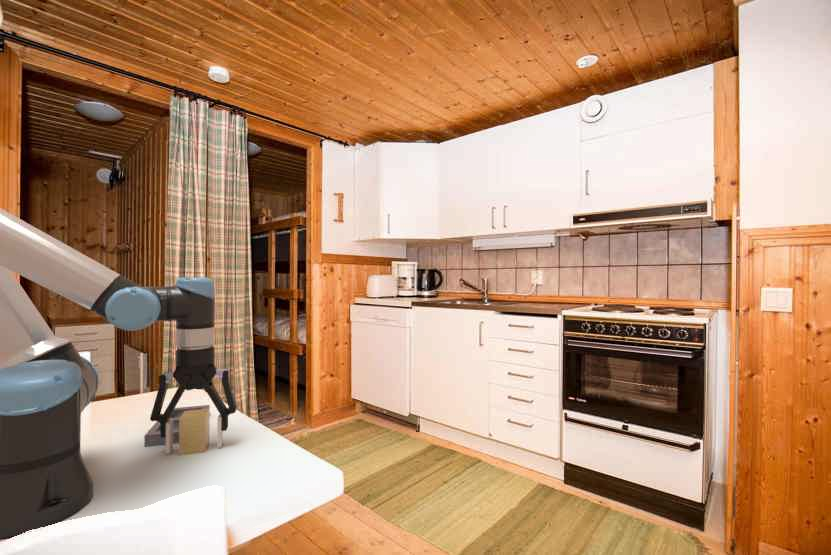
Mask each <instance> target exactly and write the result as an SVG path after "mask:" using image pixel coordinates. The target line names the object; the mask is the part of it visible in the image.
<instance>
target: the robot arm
mask: <svg viewBox="0 0 831 555" xmlns="http://www.w3.org/2000/svg"><path fill="white" fill-rule="evenodd" d="M13 273H15V274H18V275H20V276H22V277H23V278H26V279H27V280H28V281H29V280H30V281H31V282H33V283H35V284H37V285H39V286H41V287H43V288H46V289H47V290H50V291H51V292H54V293H55V294H57V295H60V296H61V297H63V298H65V299H68V300H70V301H71V302H73V303H76V304H77V305H79V306H82V307H84V308H85V309H87V310H89V311H91V312H93V313H95V314H96V315H99V316H101V317H103V318H104V319H105V320H106V321H107V322H108V323H110V324H112V325H113V326H114V327H116V328H117V329H119V330H123V331H129V332H130V331H131V332H132V331H133V332H134V331H140V330H144V329H147V328H148V327H150V326H151V325H152V324H154V323H159V322H175V324H176V325H175V347H177V349H176V350H175V370H174V371H172V372H169V373H168V372H163V373H162V374H160V375H159V376H158V385H159V387H158V390H157V393H156V396H155V400H154V404H153V406H152V407H153V408H152V410H151V414H150V417H149V418H150V419H149V420H150V421H151V422H157V421H158V422H160V436H161V438H163V437H166V444H165V454H166V455H169V454H171V452H172V451H173V450H174V449H173V448H174V443H173V419H169V417H170V415H171V414H172V412H173V410H174V408H177V404H178V403H179V401H180V399H181V397H182V396H183V394H184V393H185V391H192V390H203V389H204V392H205V393H207V395H208V397H209V398H210V400H211V402H212V403H213V405H214V406H215V408H216V410H217V412H218V413H219V415H218V417H217V422H216V424H217V427H216V429H217V430H216V431H217V435H216V436H217V437H216V438H217V442H216V444H217V447H216V448H218V449H219V448H222V446H223V444H224V431H227V430H228V428H229V415H232V414H235V413H236V411H237V408H238V406H237V402H236V399H235V395H234V392H233V388H232V383H231V381H230V372H231V371H230V369H229V368H225V369H217V367H216V365H215V347H214V346H213V345H214V344H215V316H216V315H215V312H216V311H215V310H216V309H215V307H216V305H215V303H216V296H215V282H214V280H213V279H212V278H210V277H178V278H176V280H175V285H172V286H141V285H140V284H138V283H136V282H134V281H132V280H131V279H129V278H127V277H124V276H123V275H121V274H120V273H118V272H116V271H114V270H112V269H111V268H109V267H107V266H105V265H103V264H102V263H100V262H98V261H96V260H94V259H93V258H91V257H89V256H87V255H85V254H84V253H82V252H80V251H78V250H77V249H74V248H73V247H71V246H69V244H68V245H67V244H66V243H64V242H62V241H60V240H58V239H56V238H55V237H53V236H51V235H49V234H48V233H46V232H44V231H43V230H40V229H39V228H37V227H35V226H33V225H32V224H29V223H27V222H26V221H25V220H23V219H21V218H19V217H17V216H16V215H13V214H11V213H10V212H8V211H6V210H5V209H3V208H1V207H0V539H6V538H9V537H10V538H11V537H14V536H19V535H22V534H21V533H23V532H26V531H29V530H32V529H37V528H40V527H43V526H45V527H48V526H50V524H51V525H54V524H55V523H57V522H60V521H62V520H64V519H66V518H68V517H70V516H72V515H73V514H75V513H78V512H79V511H80V510H81V509H83V508H84V507H86V505H88V504H89V503H90V502H91V500H93V496H94V480H93V478H92V476H91V474H90V470H89V469H88V467H87V465H86V462H85V460H84V457H83V456H82V454H81V433H82V432H81V424H82V423H81V422H82V421H81V418H82V413H83V411H84V410H85V409H86V408H87V406H89V405H90V403H92V401H93V400H94V398H95V397H96V393H97V391H98V389H99V380H100V378H99V374H98V370H97V367H96V366H95V365H94V364H93V363H92V362H91V361H90V360H88V359H86V357H83V356H82V355H80V353H79V351H78V350H77V349H76V347H75V346H74V344H73V343H72V341H71V339H68V338H63V337H58V336H55V334H54V332H53V331H52V329H51V328H50V327H49V325H48V324H47V322H46V321H45V319H44V317H43V316H42V314H41V313H40V312H39V310H38V308H37V307H36V305H35V304H34V303H33V300H31V299H30V297H29V295H28V294H27V293H26V291H25V290H24V288H23V287H22V285H21V284H20V282H19V281H18V279H17V278H16V277H15V275H14V274H13ZM215 376H218V379H219V380H221V383H222V384H221V385H222V388H223V391H224V396H225V400H226V402H227V405H226V404H225V402H224V401H223V399H222V397H221V396H220V395H219V392H218V391H217V389H216V387H215V385H214V383H213V381H212V380H213V379H214V378H215ZM173 379H175V381H176V382H177V383H178V388H177V389H176V391H175V393H174V395H173V397H172V399H171V400H170V402H169V404H168V405H167V407H166V409H165V411H164V412H163V413H161V412H162V408H163V405H164V402H165V398H166V395H167V393H168V392H167V391H168V388H169V384H170V383H171V382H172V380H173ZM227 406H228V407H227ZM47 525H48V526H47ZM43 528H44V527H43ZM40 529H41V528H40ZM37 530H38V529H37ZM18 534H19V535H18ZM23 534H24V533H23Z"/></svg>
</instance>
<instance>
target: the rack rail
mask: <svg viewBox="0 0 831 555" xmlns="http://www.w3.org/2000/svg"><path fill="white" fill-rule="evenodd" d="M200 409H209V415H210V413H211V412H210V410H211V409H210V404H204V405H193V406H192V405H191V406H181V407H175V408H174V410H173V412H172V414H171V415H170V417H169V419H173V444H179V418H180V417H181V415H182V414H183V413H184V411H189V410H200ZM163 445H166V437H163V438H161V436H160V422H158V421H155V424H153V425H152V426H151V428H150V429H149V430H148V431H147V432H146V433H145V435H144V448H145V447H153V446H154V447H155V446H163Z"/></svg>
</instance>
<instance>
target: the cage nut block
mask: <svg viewBox="0 0 831 555" xmlns="http://www.w3.org/2000/svg"><path fill="white" fill-rule="evenodd" d="M209 444H210V414H209V409H200V410H189V411H184V413H183V414H182V415H181V417H180V418H179V443H178V455H179V456H188V455H194V454H204V453H206V452H207V450H208V447H209Z"/></svg>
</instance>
